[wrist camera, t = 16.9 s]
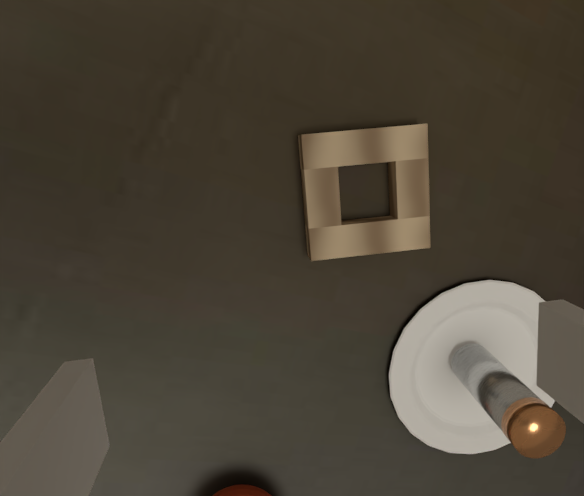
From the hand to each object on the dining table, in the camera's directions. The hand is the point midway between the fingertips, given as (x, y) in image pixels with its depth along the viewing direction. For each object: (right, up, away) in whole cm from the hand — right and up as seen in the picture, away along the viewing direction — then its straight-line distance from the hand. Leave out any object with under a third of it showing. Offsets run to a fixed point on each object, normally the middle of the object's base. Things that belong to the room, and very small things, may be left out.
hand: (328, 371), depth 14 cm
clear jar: (+18, -9, +38) cm, 44 cm away
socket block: (+6, +9, +34) cm, 36 cm away
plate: (+20, -10, +41) cm, 46 cm away
